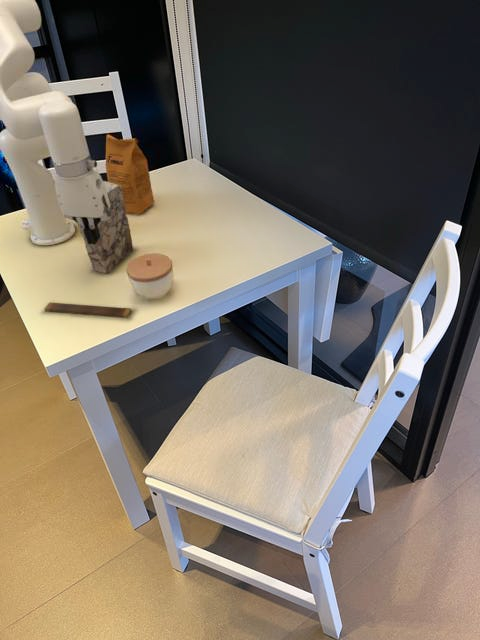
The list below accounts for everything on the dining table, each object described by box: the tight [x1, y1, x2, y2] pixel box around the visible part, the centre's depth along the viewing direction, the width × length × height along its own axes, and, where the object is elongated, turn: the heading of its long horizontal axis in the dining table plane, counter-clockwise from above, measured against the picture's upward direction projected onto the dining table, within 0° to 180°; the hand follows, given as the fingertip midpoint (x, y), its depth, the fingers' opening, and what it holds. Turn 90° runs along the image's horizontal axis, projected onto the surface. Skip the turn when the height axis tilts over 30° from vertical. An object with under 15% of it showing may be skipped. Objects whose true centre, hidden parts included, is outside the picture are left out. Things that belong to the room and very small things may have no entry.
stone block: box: [77, 180, 134, 274], centre depth 132 cm, size 13×7×20 cm, turn 161°
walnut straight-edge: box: [44, 302, 133, 319], centre depth 121 cm, size 21×2×1 cm, turn 78°
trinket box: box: [125, 253, 174, 300], centre depth 123 cm, size 11×11×9 cm
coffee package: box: [105, 133, 155, 215], centre depth 155 cm, size 10×12×22 cm
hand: (94, 241), depth 120 cm, fingers closed
